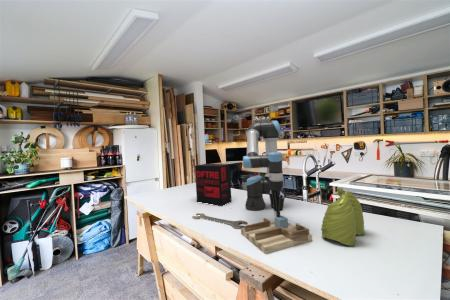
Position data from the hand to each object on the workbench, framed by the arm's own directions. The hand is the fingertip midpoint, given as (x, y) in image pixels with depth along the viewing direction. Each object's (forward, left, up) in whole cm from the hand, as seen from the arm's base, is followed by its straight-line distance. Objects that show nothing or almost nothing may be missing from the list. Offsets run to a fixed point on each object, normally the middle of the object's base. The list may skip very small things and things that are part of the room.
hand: (277, 222), depth 120 cm
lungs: (+21, +24, -5) cm, 33 cm away
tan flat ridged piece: (+6, -6, -5) cm, 10 cm away
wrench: (-31, -24, -5) cm, 39 cm away
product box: (-74, -12, -5) cm, 75 cm away
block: (+3, 0, -2) cm, 3 cm away
